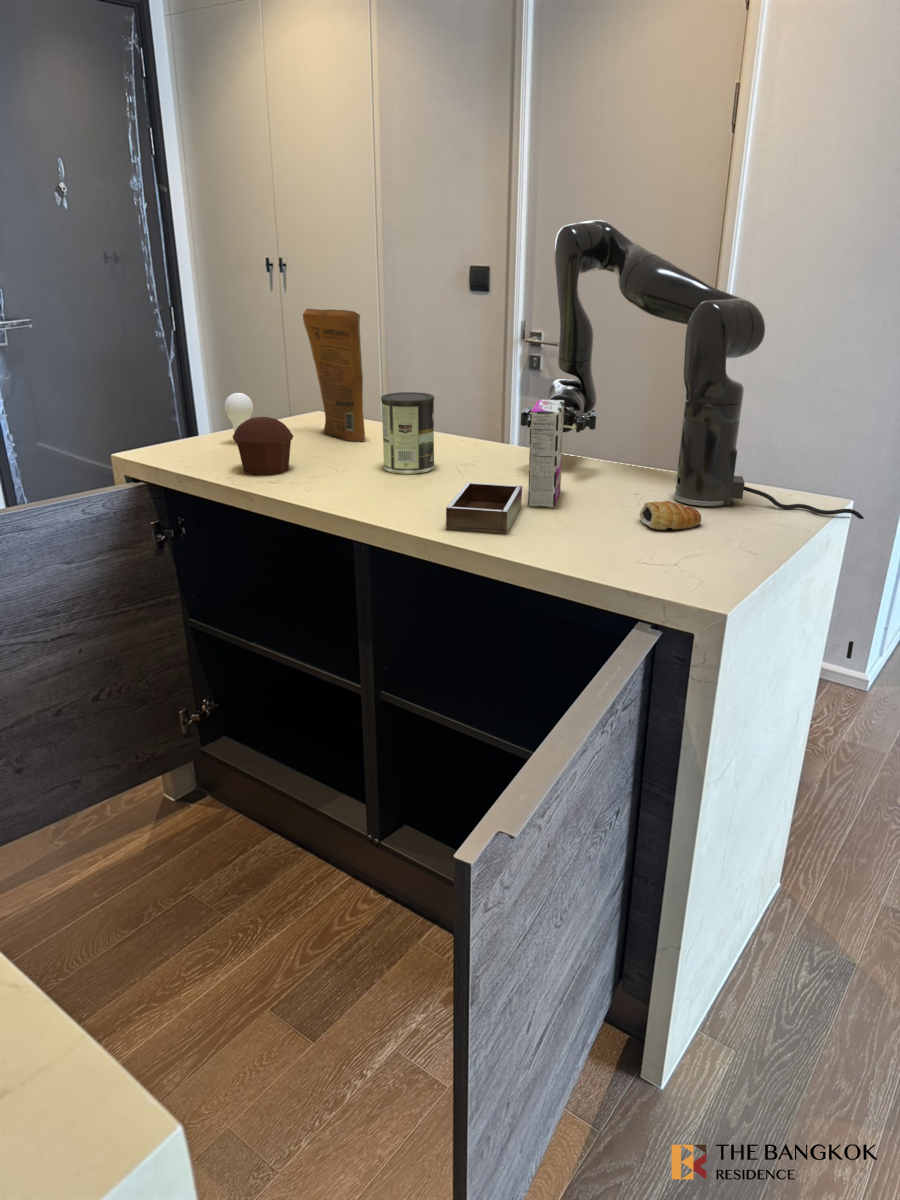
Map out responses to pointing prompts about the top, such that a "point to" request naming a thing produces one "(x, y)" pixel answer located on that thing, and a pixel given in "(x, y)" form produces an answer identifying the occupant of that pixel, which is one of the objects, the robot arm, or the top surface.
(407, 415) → the coffee can
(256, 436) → the muffin
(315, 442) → the top surface
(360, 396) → the pancake mix bag
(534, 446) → the candy bar box
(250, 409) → the lightbulb
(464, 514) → the open box
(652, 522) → the pastry
